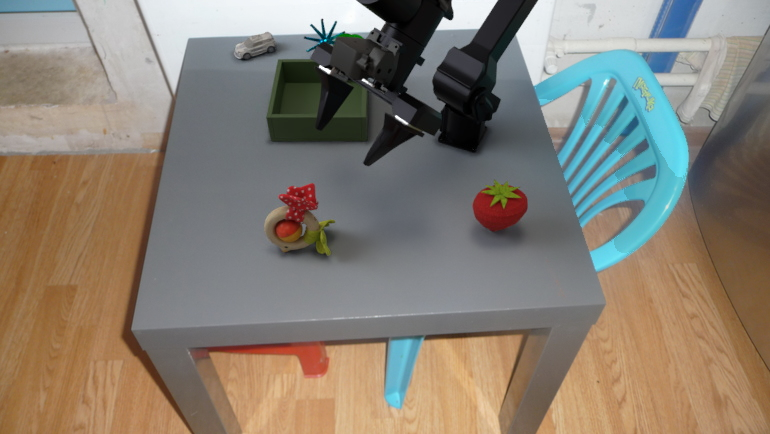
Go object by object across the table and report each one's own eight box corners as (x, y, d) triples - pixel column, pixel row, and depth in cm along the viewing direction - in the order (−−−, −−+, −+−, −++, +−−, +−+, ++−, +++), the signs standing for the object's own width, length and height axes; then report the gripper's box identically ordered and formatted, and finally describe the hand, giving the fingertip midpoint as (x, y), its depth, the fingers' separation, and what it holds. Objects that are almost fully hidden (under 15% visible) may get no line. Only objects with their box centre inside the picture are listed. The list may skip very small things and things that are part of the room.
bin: (368, 82, 105) (367, 58, 102) (366, 141, 95) (366, 117, 91) (281, 82, 105) (277, 59, 102) (270, 141, 95) (266, 117, 91)
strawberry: (527, 243, 81) (541, 194, 74) (474, 250, 81) (483, 201, 73) (513, 211, 85) (526, 161, 78) (463, 218, 84) (470, 168, 77)
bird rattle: (289, 277, 80) (348, 253, 78) (243, 233, 72) (307, 205, 70) (287, 241, 84) (343, 218, 82) (243, 196, 76) (304, 169, 74)
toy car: (232, 52, 111) (229, 38, 109) (271, 41, 114) (269, 27, 112) (238, 62, 109) (235, 48, 107) (278, 50, 112) (276, 37, 110)
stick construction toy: (302, 59, 106) (307, 14, 105) (297, 60, 113) (302, 18, 111) (366, 70, 110) (372, 27, 108) (358, 70, 116) (363, 29, 115)
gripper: (314, -21, 68) (253, 97, 72) (431, 45, 60) (355, 175, 63) (366, 16, 78) (309, 118, 81) (473, 77, 69) (405, 188, 73)
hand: (341, 146), depth 74 cm, fingers open, 9 cm apart
